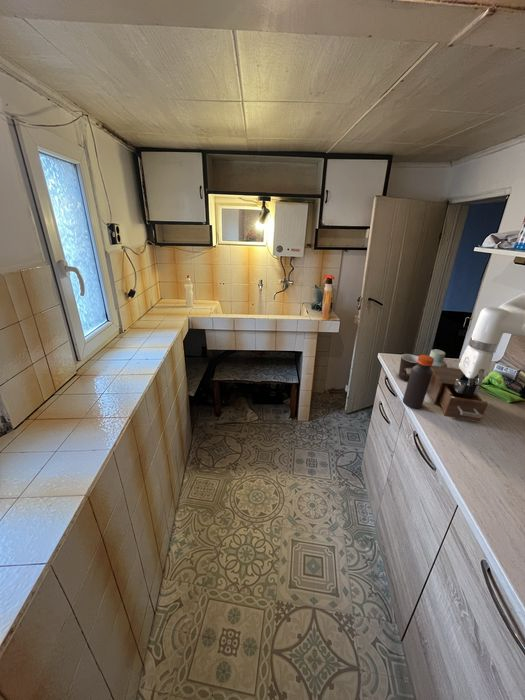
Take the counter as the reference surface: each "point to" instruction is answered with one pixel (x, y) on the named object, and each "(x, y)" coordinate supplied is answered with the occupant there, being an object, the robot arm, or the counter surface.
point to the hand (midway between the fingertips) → (464, 390)
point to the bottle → (418, 382)
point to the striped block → (462, 386)
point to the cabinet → (442, 380)
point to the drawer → (461, 404)
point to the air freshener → (438, 358)
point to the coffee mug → (407, 366)
